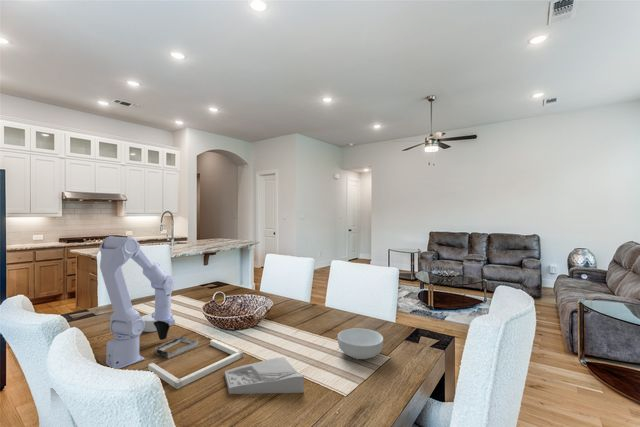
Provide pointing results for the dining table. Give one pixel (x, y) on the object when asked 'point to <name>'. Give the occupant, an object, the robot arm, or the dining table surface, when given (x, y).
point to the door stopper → (265, 378)
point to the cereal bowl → (360, 343)
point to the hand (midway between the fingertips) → (162, 338)
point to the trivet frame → (202, 372)
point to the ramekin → (149, 323)
